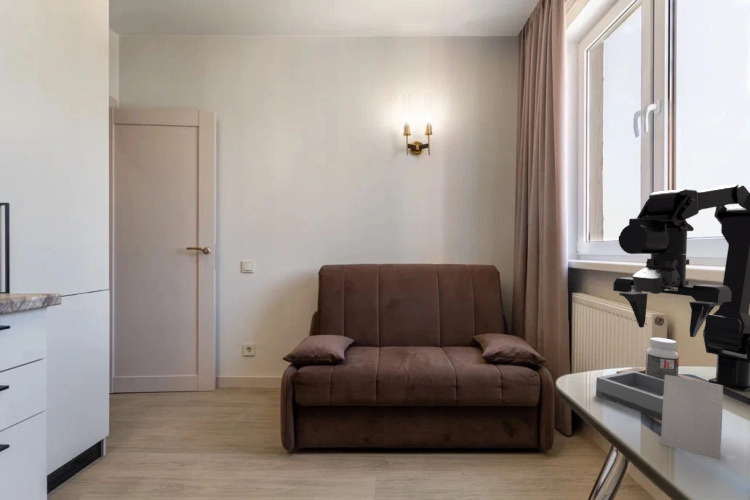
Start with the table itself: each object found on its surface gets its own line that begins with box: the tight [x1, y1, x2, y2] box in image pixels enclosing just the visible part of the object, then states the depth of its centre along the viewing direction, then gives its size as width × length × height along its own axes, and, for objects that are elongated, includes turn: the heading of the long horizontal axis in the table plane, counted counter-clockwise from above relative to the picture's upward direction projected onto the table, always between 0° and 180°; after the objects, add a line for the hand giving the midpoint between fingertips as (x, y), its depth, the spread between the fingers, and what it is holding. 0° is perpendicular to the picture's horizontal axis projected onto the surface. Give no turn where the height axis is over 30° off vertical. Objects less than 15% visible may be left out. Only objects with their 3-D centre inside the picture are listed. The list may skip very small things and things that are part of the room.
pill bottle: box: [645, 337, 680, 380], centre depth 87 cm, size 6×6×10 cm
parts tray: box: [595, 371, 664, 421], centre depth 77 cm, size 12×12×4 cm
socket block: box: [615, 365, 710, 383], centre depth 87 cm, size 12×12×2 cm
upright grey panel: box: [660, 375, 724, 460], centre depth 60 cm, size 4×7×10 cm, turn 53°
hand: (665, 331), depth 81 cm, fingers open, 9 cm apart
